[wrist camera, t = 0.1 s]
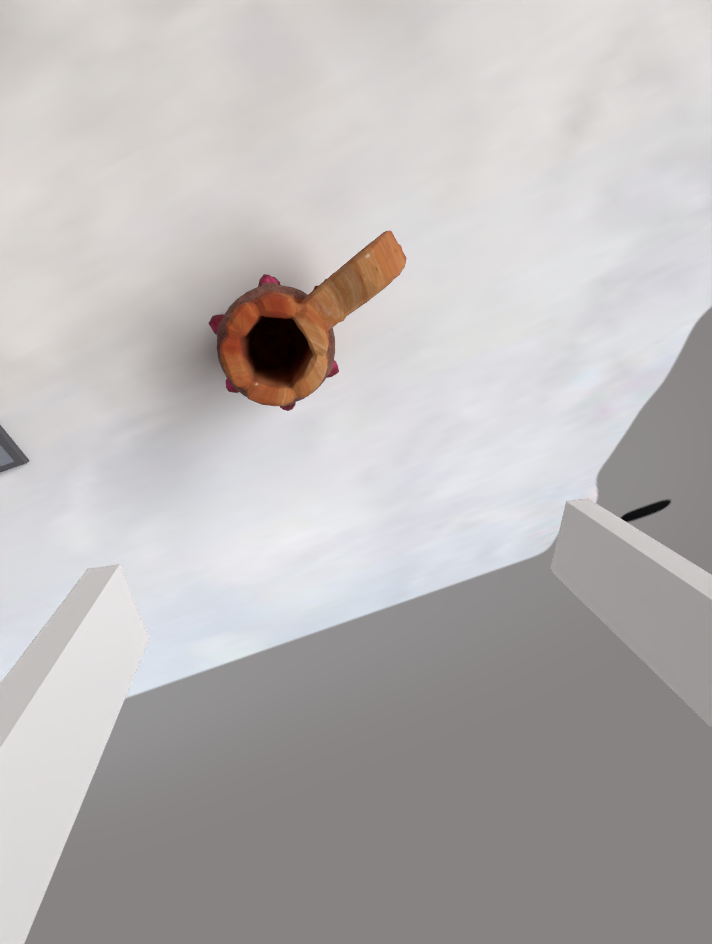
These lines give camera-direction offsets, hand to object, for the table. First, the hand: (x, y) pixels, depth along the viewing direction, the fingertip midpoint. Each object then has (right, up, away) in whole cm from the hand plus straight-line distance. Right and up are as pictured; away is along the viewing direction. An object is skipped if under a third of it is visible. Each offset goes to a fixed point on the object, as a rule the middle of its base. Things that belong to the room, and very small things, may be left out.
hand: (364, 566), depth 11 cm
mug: (-5, +17, +23) cm, 29 cm away
